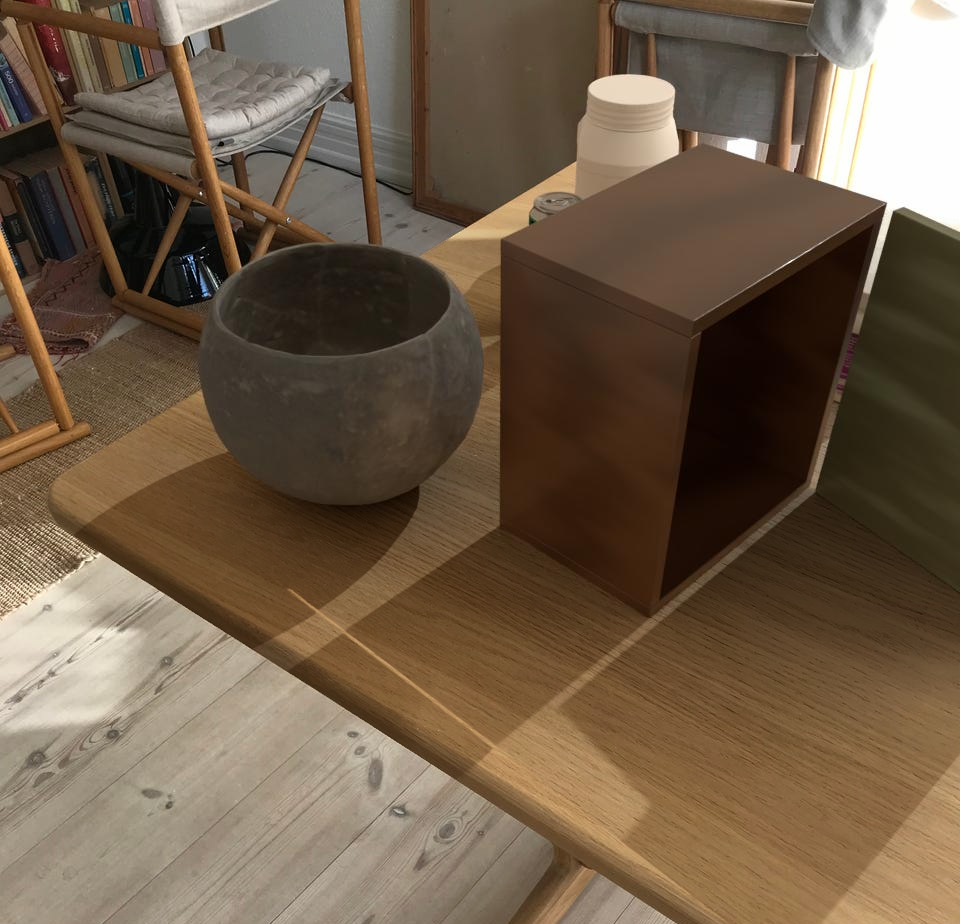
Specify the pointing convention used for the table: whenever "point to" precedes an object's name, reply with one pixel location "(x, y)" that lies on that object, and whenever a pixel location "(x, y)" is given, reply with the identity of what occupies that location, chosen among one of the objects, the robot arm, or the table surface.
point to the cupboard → (673, 364)
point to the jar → (624, 131)
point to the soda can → (551, 204)
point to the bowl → (340, 370)
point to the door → (905, 401)
